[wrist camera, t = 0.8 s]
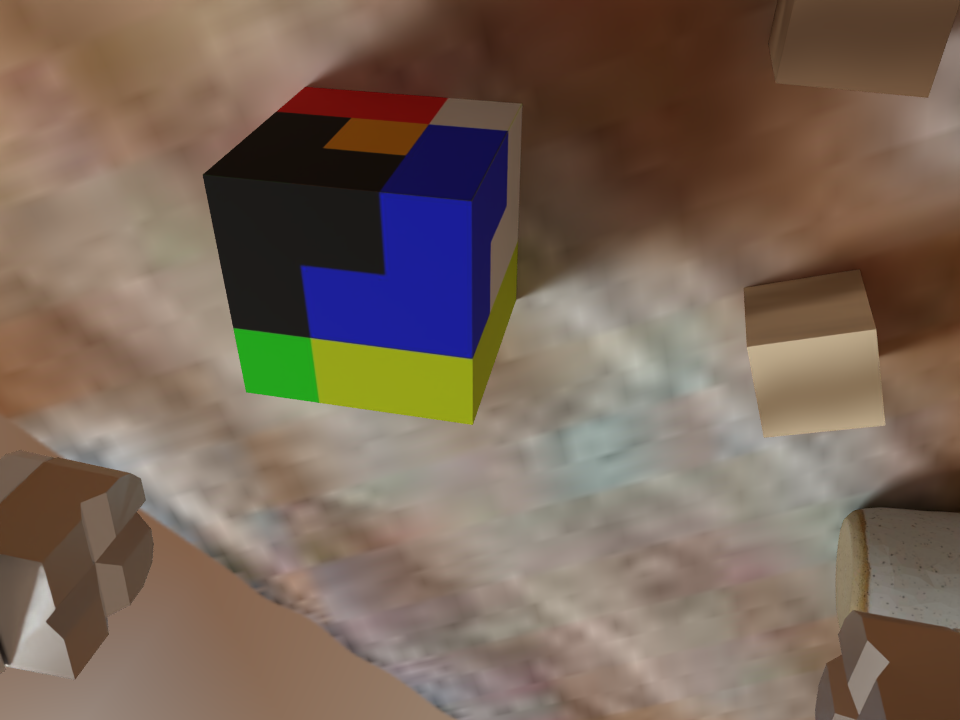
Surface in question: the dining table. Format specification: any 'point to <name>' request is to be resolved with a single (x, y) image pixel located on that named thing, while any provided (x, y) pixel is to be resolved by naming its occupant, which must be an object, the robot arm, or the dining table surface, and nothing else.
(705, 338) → the dining table surface
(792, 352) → the maple block
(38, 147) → the dining table surface
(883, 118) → the dining table surface
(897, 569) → the ceramic mug
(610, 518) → the dining table surface
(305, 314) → the puzzle toy
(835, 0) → the walnut block
